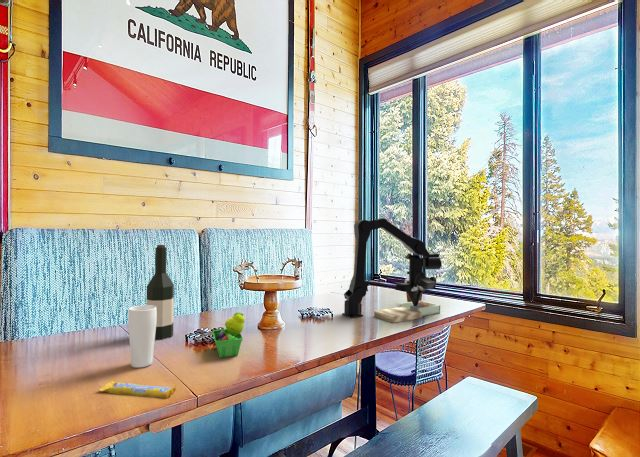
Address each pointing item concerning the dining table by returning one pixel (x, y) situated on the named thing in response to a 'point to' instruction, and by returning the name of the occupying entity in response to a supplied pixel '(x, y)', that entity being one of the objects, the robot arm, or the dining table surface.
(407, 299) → the disposable coffee cup
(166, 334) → the wine bottle
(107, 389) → the candy bar
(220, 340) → the fruit basket
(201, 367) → the dining table surface
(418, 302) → the terracotta tile
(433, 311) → the tray
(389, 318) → the board
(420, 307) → the slate tile
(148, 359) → the drinking glass
